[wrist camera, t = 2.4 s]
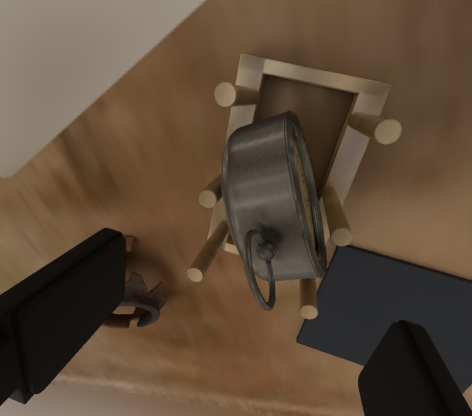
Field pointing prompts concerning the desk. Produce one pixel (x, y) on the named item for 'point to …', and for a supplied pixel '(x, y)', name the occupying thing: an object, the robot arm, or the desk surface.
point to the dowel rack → (341, 165)
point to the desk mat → (390, 309)
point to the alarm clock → (273, 203)
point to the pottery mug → (138, 300)
